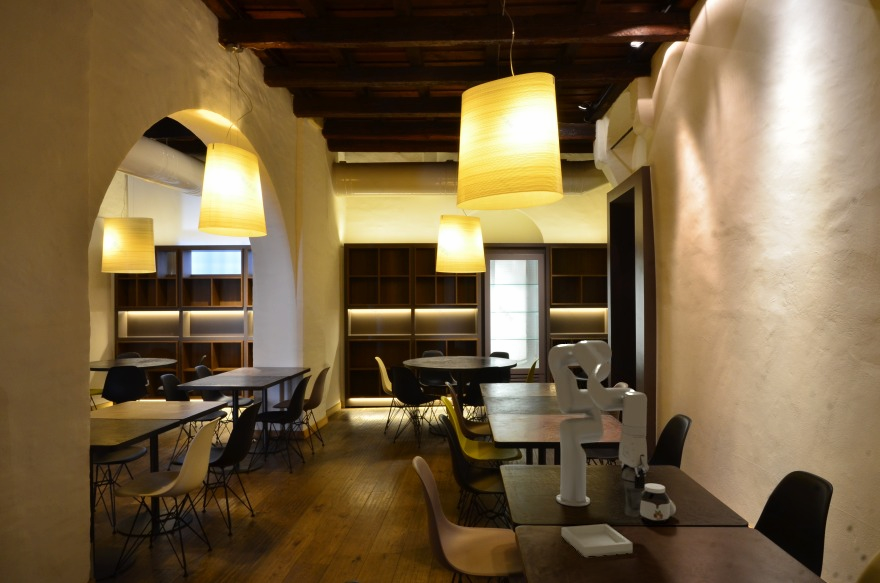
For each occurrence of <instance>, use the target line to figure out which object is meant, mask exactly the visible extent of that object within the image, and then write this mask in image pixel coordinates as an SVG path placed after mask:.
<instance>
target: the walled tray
mask: <svg viewBox="0 0 880 583" xmlns="http://www.w3.org/2000/svg"><path fill="white" fill-rule="evenodd" d="M561 536H562V537H563V538H564V540H565V542H567V543H568V542H569V543H570V544H571V545H572V546H573V547H574V548H575V549H576V551H577V550H578V551H579V552H580V553H581V554H582V555H583V556H584V557H585V558H589V557H588V556H596V557H604V556H603V555H607V556H617V555H616V554H618V555H626V553H628V554H633V547H634V546H633V545H634V544H633V542H632V541H631V540H629V539H627V538H626V537H625V536H623V535H622V534H621V533H619V532H618V531H617V530H615V528H613V527H611V525H609V524H608V523H602V524H591V525H590V524H588V525H575V526H574V525H573V526H566V527H565V526H564V527H563V526H562V527H561ZM562 537H561V538H562ZM563 538H562V539H563ZM569 543H568V544H569ZM570 544H569V545H570ZM571 545H570V546H571ZM572 546H571V547H572ZM573 547H572V548H573ZM574 548H573V549H574ZM575 549H574V550H575ZM578 551H577V552H578ZM579 552H578V553H579ZM580 553H579V554H580ZM581 554H580V555H581ZM582 555H581V556H582ZM583 556H582V557H583ZM584 557H583V558H584Z"/></svg>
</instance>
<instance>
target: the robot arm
mask: <svg viewBox="0 0 880 583" xmlns="http://www.w3.org/2000/svg"><path fill="white" fill-rule="evenodd" d="M611 358H612V348H611V346H610V344H608V343H607V342H606V341H604V340H581V341H578V342H577V343H572V344H571V343H567V344H566V343H565V344H557V345H555V346H552V348H550V350H549V352H548V356H547V360H548V367H549V370H550V373H551V375H552V378H553V380H554V381H553V382H554V388H555V393H556V400H557V401H556V402H557V404H558V405H557V406H558V409H559V411H560V413H561V414H563V415H569V416H571V415H572V416H573V415H583V417H571V418H565V419H563V420H561V422H560V423H559V424H558V427H557V429H558V430H557V431H558V438H559V443H560V486H559V489H560V490H559V491H560V494H558V495H556V497H555V499H556V501H557V502H558V503H559V504H561V505H565V506H568V507H584V506H588V505H589V504H591V500H590V498H589V497H588V496H587V454H586V452H585V450H584V447H582V445H581V444H587V443H588V444H589V443H596V442H600V441H601V440H602V439H603V437H604V433H605V432H604V424H603V423H604V422H603V418H602V412H601V410H602V411H603V412H612V411H622V414H621V415H622V417H621V418H622V421H621V423H622V425H621V433H620V438H619V446H618V460H619V461H620V468H621V474H622V473H623V471H624V469H625V468H627V467H629V466H630V467H632V468H635V472H636V476H635V488H636V489H641V488H642V489H645V484H646V482H645V480H646V478H645V477H646V476H647V473H648V471H649V469H650V466H649V464H648V446H647V418H648V417H647V415H648V414H647V412H648V408H647V407H648V397H647V395H646V394H645V393H644V392H641V391H636V390H634V389H633V388H631V387H604V385H602V383H601V382H602V381H605V379H606V378H608V376H609V374H610V372H611V366H610V364H609V363H608V362H609V361H610V360H611ZM577 366H580V367H581V369H582V370H583V371H584V373H585V374H586V375H587V377H588V378H587V381H586V389H585V388H584V389H579V387H578V382H577V378H576V376H575V374H574V373H573V371H572V369H570V368H569V367H577ZM638 469H640V471H639V470H638Z"/></svg>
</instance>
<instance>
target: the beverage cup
mask: <svg viewBox="0 0 880 583" xmlns="http://www.w3.org/2000/svg"><path fill="white" fill-rule="evenodd" d="M638 470H639V471H640V470H641V469H638ZM635 476H636V472H635V468H632V467H630V466H629V467H627V468H625V469H624V471H623V473H622V472H621V478H620V479H621V483H622V492H623V508H624V514H625V515H626V516H629V517H635V518H636V517H639V516H640V506H641V497H642V492H643V488H641V489H636V488H635Z"/></svg>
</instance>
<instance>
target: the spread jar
mask: <svg viewBox="0 0 880 583" xmlns="http://www.w3.org/2000/svg"><path fill="white" fill-rule="evenodd" d="M676 509H677V507H676V504H675V503H674V501H672V500H671V499H670V497H669V496H668V494H667V493H666V486H664V485H662V484H659V483H650V482H649V483H645V487H644V490H642V497H641V506H640V512H639V515H640V516H641V517H642V518H643V519H644V520H645V521H648V522H649V521H650V522H649V523H653V522H656V523H655V524H662V523H661V522H663V523H664V522H667V520H668V519H669V518H670V517H672V516H673V515H674V514H675V513H676V511H677V510H676Z"/></svg>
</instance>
